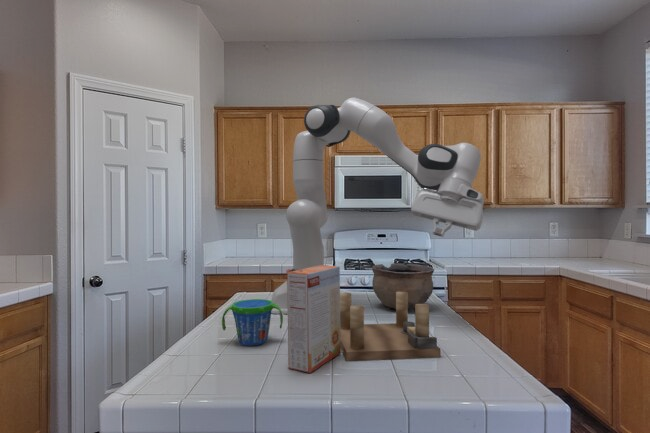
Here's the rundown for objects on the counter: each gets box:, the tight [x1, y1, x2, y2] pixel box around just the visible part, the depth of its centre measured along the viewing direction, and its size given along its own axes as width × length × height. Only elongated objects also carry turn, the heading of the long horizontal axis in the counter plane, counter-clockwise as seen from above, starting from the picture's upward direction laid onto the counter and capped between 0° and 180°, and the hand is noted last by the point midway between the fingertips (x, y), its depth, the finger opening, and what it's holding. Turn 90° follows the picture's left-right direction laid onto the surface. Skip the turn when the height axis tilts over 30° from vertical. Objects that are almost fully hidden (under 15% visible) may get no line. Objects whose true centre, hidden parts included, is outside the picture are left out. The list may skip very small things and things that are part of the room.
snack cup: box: [221, 298, 284, 347], centre depth 98 cm, size 16×11×10 cm
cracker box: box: [286, 264, 342, 374], centre depth 85 cm, size 14×6×21 cm, turn 149°
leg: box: [403, 303, 430, 337], centre depth 95 cm, size 13×3×9 cm, turn 5°
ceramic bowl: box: [371, 262, 435, 310], centre depth 137 cm, size 22×22×15 cm
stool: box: [340, 292, 441, 362], centre depth 97 cm, size 22×22×11 cm
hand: (437, 235), depth 109 cm, fingers closed
